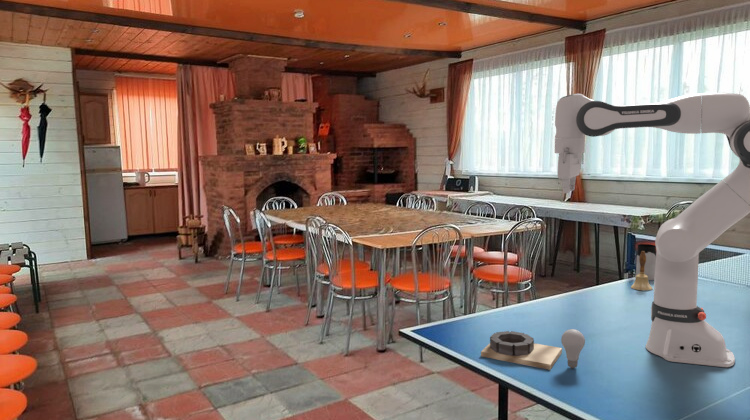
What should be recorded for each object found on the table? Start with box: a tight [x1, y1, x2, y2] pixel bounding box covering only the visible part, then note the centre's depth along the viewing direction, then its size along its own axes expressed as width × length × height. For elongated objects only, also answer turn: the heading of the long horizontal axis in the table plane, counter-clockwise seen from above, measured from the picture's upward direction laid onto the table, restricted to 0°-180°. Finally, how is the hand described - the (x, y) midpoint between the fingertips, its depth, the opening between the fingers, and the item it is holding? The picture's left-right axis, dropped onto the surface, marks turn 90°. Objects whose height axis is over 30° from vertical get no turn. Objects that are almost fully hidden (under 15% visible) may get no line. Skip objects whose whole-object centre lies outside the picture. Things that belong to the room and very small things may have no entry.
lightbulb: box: [560, 328, 586, 369], centre depth 149 cm, size 6×6×11 cm
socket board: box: [480, 330, 563, 371], centre depth 159 cm, size 20×14×4 cm
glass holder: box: [634, 243, 657, 281], centre depth 249 cm, size 9×14×15 cm, turn 171°
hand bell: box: [630, 251, 654, 292], centre depth 229 cm, size 8×8×16 cm
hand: (568, 191), depth 170 cm, fingers open, 8 cm apart
